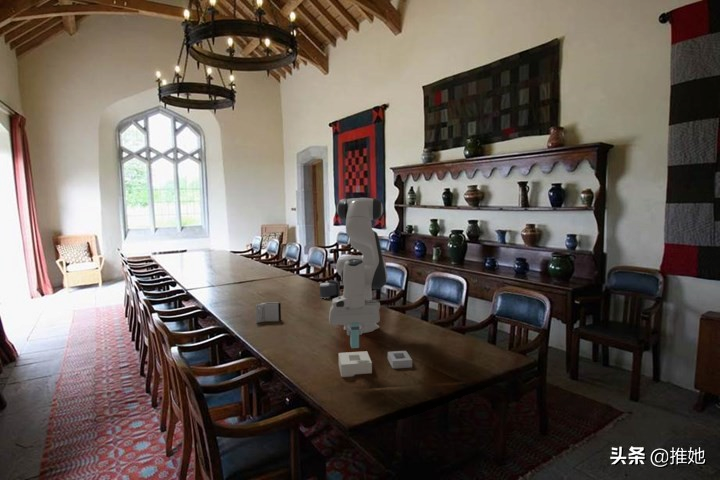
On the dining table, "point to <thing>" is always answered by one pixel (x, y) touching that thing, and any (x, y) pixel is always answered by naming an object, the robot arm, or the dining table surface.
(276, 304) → the hinge
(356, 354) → the port block
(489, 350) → the dining table surface
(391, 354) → the holster
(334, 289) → the dark grey block
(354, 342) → the plug
